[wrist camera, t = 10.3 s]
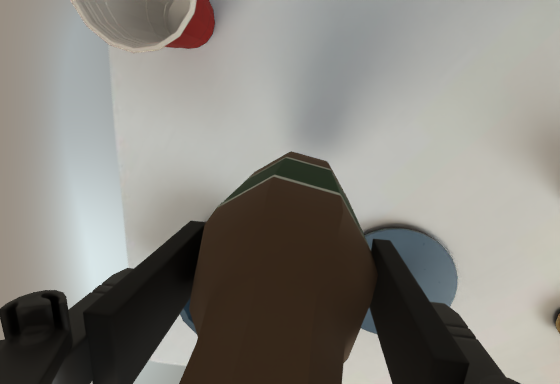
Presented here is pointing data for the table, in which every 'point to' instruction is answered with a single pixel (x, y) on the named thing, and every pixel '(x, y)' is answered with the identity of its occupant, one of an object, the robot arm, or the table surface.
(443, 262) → the lid
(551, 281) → the table surface
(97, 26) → the plastic cup
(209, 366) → the beer bottle
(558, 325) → the pastry
